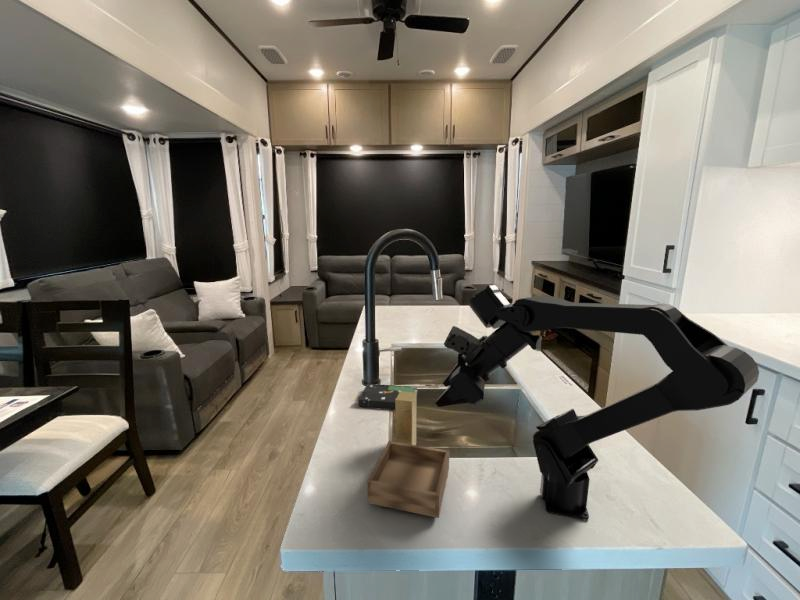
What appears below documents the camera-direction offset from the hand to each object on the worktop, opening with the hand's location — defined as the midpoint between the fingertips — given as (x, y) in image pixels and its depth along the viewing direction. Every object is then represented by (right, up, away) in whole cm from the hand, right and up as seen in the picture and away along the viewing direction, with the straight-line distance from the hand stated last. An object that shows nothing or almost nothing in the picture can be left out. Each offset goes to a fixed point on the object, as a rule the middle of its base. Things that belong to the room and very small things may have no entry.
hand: (440, 394), depth 72 cm
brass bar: (-7, -13, +4) cm, 15 cm away
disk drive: (-11, -9, +26) cm, 30 cm away
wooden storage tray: (-6, -15, -8) cm, 18 cm away
